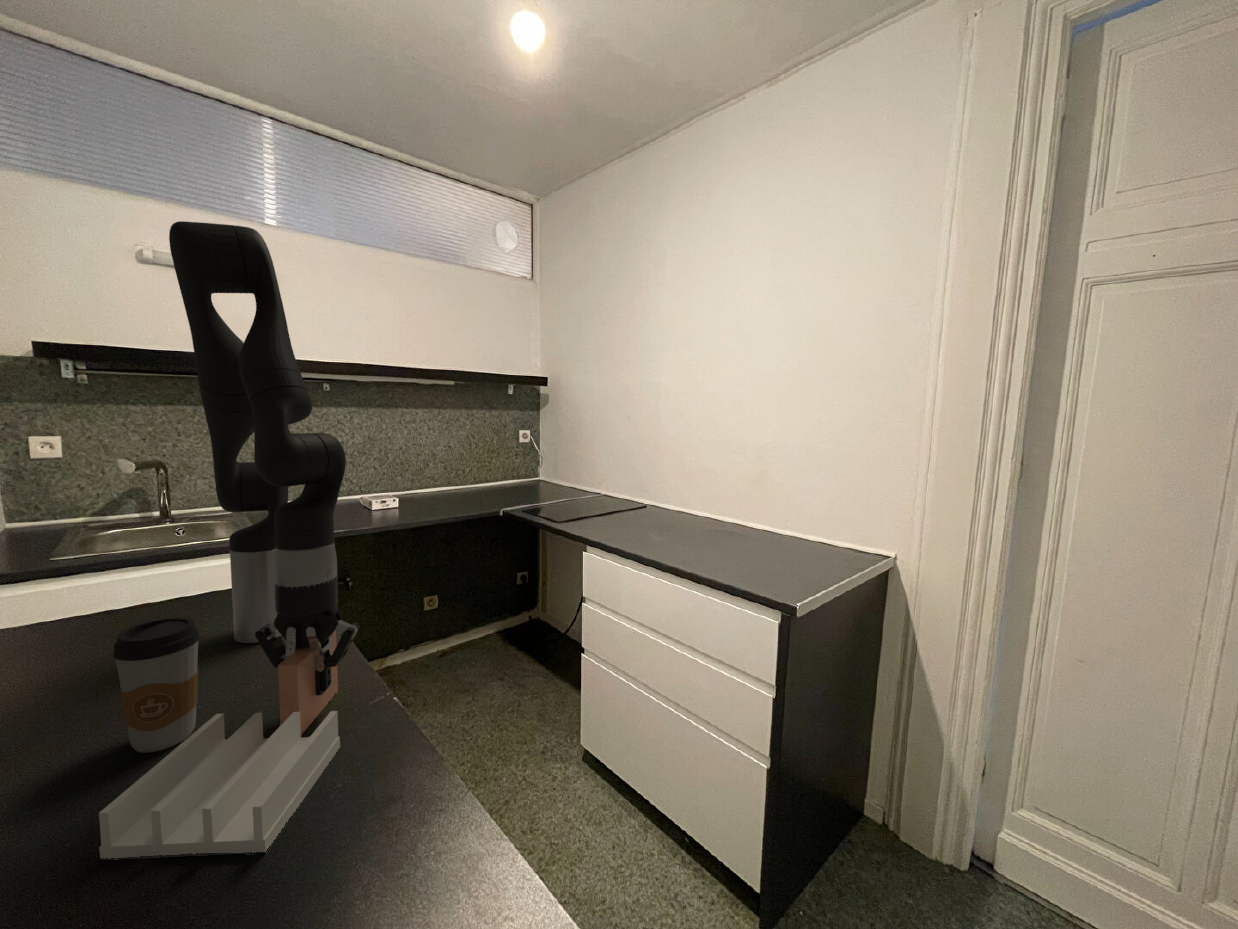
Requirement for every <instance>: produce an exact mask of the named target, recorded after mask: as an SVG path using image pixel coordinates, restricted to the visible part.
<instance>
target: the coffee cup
mask: <svg viewBox="0 0 1238 929" xmlns="http://www.w3.org/2000/svg"><path fill="white" fill-rule="evenodd" d="M199 630H200V629H199V627H198V626H197V625H196V624H195V621H194V619H193V618H189V617H185V616H183V617H182V616H176V617H175V616H174V617H165V618H157V619H153V620H149V621H144V622H142V623H139V624H135V625H132V626H130V627H128V628H126V629H123V630H122V631H120V632H119V634H117V639H116V642H115V643H114V645H113V653H112V656H113V657H112V658H114V659H115V662H116V667H117V668H116V669H117V672H118V674H117V675H118V679H119V685H120V688H119V690H120V696H121V697H120V698H121V702H122V708H123V714H124V720H125V723H126V725H127V726H126V727H127V730H128V732H127V733H128V737H129V738H128V739H129V742H130V743H129V745H130V746H131V748H133V749H134V750H135V751H136V752H137V753H154V752H158V751H162V750H165V749H169V748H171V747H174V746H177V745H178V744H181V743H183V742H184V741H185V740H186V739H187V738H189V737H190V736H191V735H192V734H193V733H194V729H195V727H196V726H197V725H196V722H197V703H198V689H199V688H198V687H199V668H198V661H199V659H198V657H199V655H198V652H199V641H200V638H201V635H200V633H199V632H200V631H199Z"/></svg>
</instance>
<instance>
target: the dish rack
mask: <svg viewBox="0 0 1238 929" xmlns="http://www.w3.org/2000/svg"><path fill="white" fill-rule="evenodd" d="M338 712H339V711H338V710H331V711H329V713H328V714H327V715H326V717H325V718H324V719H323V720H322V721H321V723H320V724H319V725H318V727H317V728H316V729H315V730H314V731H313V733H312V734H311V735H310V736H308V737H307V736H306V737H302V735H301V724H300V712H293V713H292V714H291V715H290V716H289V717H288V718H287V719H286V720H285V721H284V723H283V724H282V725H281V726H280V725H279V727H278V728H277V729H276V730H275V731H274V732H273V733H272V734H271V735H270V736H269V738H264V726H263V712H255V713H253V714H252V715H251V716H250V718H248V719H247V720H246V721H245V722H244V723H243V724H242V725H241V726H240V727H239V728H238V729H236V731H234V733H232V734H231V735H230V736H229V737H228V738H227V739H226V737H225V736H226V735H225V731H226V730H225V718H224V716H225V714H224V713H216V714H214V715H213V716H212V717H211V718H210V719H209V720H207V721H206V722H205V723H204V724H203V725H202V726H200V727H199V728H198V729H197V730H196V731H194V732H192V733H191V735H190V736H189V737H188V738H186V739H185V740H183V741H182V742H181V743H179V745H178V746H177V747H175V748H174V749H173V750H172V751H171V752H169V754H167V755H166V756H165V757H163V759H161V760H160V761H158V763H156V764H155V765H154V766H153V767H152V768H150V769H149V770H148V771H147V772H146V773H144V774H143V775H141V777H140V778H138V779H137V780H136V781H135V782H134V783H132V785H130V786H129V787H128V788H126V790H124V791H123V792H122V793H121V794H119V796H117V797H115V799H113V801H112V802H110V803H109V804H108V805H106V806H105V807H104V808H103V809H101V811H99V812H98V821H99V830H100V831H99V832H100V845H99V848H98V849H99V859H100V858H102V859H103V858H104V859H105V858H108V859H109V858H110V859H111V858H123V857H124V858H125V857H126V858H127V857H140V856H154V855H155V856H156V855H157V856H158V855H162V856H163V855H164V856H165V855H178V854H179V855H180V854H189V853H190V854H191V853H192V854H196V853H199V854H200V853H202V854H203V853H246V852H247V853H248V852H249V853H250V852H252V853H254V852H255V853H256V852H266V851H267V849H268V848H269V846H271V847H272V845H273V844H274V842H275V841H276V840H275V839H277V838H278V837H279V835H280V834H281V833H282V831H283V830H282V828H283V829H284V828H285V827H286V825H287V824H286V822H287V823H288V822H289V821H290V820H289V818H290V817H291V816H292V817H293V816H294V814H295V812H296V811H297V810H298V808H299V807H300V805H301V804H302V803H303V801H304V800H305V798H306V797H307V795H308V794H309V792H310V791H311V790H312V788H313V787H314V786H315V784H316V782H317V781H318V780H319V778H320V777H321V776H322V774H323V773H324V771H325V770H324V769H326V768H327V767H328V765H329V764H330V763H329V762H331V761H332V760H333V758H334V757H335V755H336V754H337V753H338V751H339V750H340V748H341V736H339V718H338V716H339V713H338ZM338 749H339V750H338ZM336 752H337V753H336ZM300 803H301V804H300ZM296 809H297V810H296ZM293 813H294V814H293ZM292 817H291V818H292ZM291 818H290V819H291ZM288 820H289V821H288ZM285 824H286V825H285ZM284 826H285V827H284ZM281 830H282V831H281ZM279 833H280V834H279ZM278 834H279V835H278ZM277 836H278V837H277ZM276 837H277V838H276ZM274 840H275V841H274ZM273 841H274V842H273ZM272 843H273V844H272ZM271 844H272V845H271ZM269 849H270V848H269ZM269 849H268V850H269ZM267 852H268V851H267ZM267 852H266V853H267Z"/></svg>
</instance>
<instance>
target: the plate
mask: <svg viewBox="0 0 1238 929" xmlns="http://www.w3.org/2000/svg"><path fill="white" fill-rule="evenodd" d="M331 642H332V645H331V653H332V654H333V652H334V650H335V648H336V647H337V645H338V643H337V642H338V641H337V629H335V631H334V632H333V633H332V635H331ZM277 670H278V672H277V675H278V678H277V679H278V695H279V697H278V699H279V700H278V701H279V721H280V722H279V723H280V725H279V727H280V726H281V725H282V724H283V723H284V721H285V720H286V719H287V718H288V717H289V716H290V715H291V714H292V713H293V712H300V724H301V736H302V735H303V734H304V733H305V731H306V730H307V729H308V728H309V727H310V725H311V724H312V723H313V722H314V721H315V719H316V718H317V717H318V716H319V715H320V713H321V712H322V711H323V710H324V709H325V708H326V706H327V705H328V704H329V703H330V702H331V701H332V699H333V698H334V697H335V696H336V695H335V693H336V694H338V692H339V682H338V680H339V679H338V674H339V673H338V664H337V665H336V666H335V667H331V685H330V686H329V688H328V689H327V690H326V691H325V692H324V693H323V694H322V695H316V688H315V671H316V668H315V662H314V657H313V656H312V652H311V651H310V647H306V646H305V647H301V648H298V649H297V650H296V651H295V652H293V653H292V654H291V655H290V656H288V657H287V658H286V659H285V660H284V661H283V662H281V663H280V664H279V665H278V668H277ZM334 695H335V696H334ZM333 696H334V697H333ZM329 701H330V702H329ZM328 702H329V703H328Z"/></svg>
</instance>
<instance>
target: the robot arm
mask: <svg viewBox="0 0 1238 929" xmlns="http://www.w3.org/2000/svg"><path fill="white" fill-rule="evenodd" d="M168 234H169V235H168V240H169V241H168V242H169V249H170V254H171V259H172V263H173V266H174V271H175V275H176V278H177V282H178V285H179V290H180V294H181V298H182V301H183V305H184V309H185V313H186V318H187V322H188V325H189V328H190V335H191V340H192V347H193V353H194V360H195V368H196V375H197V381H198V387H199V391H200V392H199V393H200V398H201V403H202V406H203V410H204V415H205V419H206V424H207V428H208V432H209V438H210V444H211V451H212V452H211V453H212V463H213V472H214V473H213V474H214V486H215V490H216V491H215V493H216V497H217V501H218V504H219V505H220V507H221V508H222V509H223V510H224V511H225V512H229V513H244V512H245V513H246V512H247V513H248V512H264V511H267V513H268V514H267V516H266V517H265V518H263V519H262V520H260V521H258V522H257V523H254V524H252V525H249V526H246V527H243V528H241V529H239V530H236V531H234V532H232V533H231V534H230V535H229V541H228V542H229V544H228V545H229V561H230V564H229V565H230V579H231V596H232V617H233V618H232V620H233V638H234V641H236V642H237V643H242V644H257V643H258V644H259V645H260V647H261V648H262V650H263V651H264V653H265V655H266V656H267V658H268V660H269V662H270V663H271V664H272V665H271V666H272V667H273V668H275V669H278V665H279V664H280V663H281V662H283V661H284V660H285V659H286V658H287V657H288V656H290V655H291V654H292V653H293V652H295V651H296V650H297V649H298V648H301V647H305V646H306V647H310V651H311V652H312V656H313V657H314V662H315V668H316V671H315V688H316V695H322V694H323V693H324V692H325V691H326V690H327V689H328V688H329V686H330V685H331V667H335V666H336V665H337V666H338V664H340V663H341V661H342V660H343V659H344V658H345V657H346V654H347V653H348V651H349V649H350V647H351V646H352V643H353V641H354V639H355V637H356V635H357V633H358V631H359V630H360V626H361V625H360V623H358V622H353V623H352V624H351V623H348V622H346V621H344V620H342V615H341V614H340V612H339V610H338V606H339V592H338V590H339V588H338V560H337V559H338V558H337V557H338V556H337V551H336V546H335V545H336V544H335V523H334V514H335V510H336V505H337V503H338V499H339V495H340V491H341V486H342V483H343V480H344V476H345V471H346V467H347V466H346V465H347V460H346V453H345V450H344V447H343V445H342V444H341V442H340V440H338V438H336V437H335V436H334V435H332V434H329V433H324V432H313V433H312V432H311V433H310V432H307V433H302V432H301V433H291V431H290V429H289V425H293V424H296V423H299V422H302V421H304V420H305V419H307V418H308V417H309V416H310V415H311V414H312V411H313V403H312V400H311V397H310V394H309V391H308V389H307V386H306V383H305V381H304V378H303V376H302V373H301V371H300V367H299V366H298V363H297V359H296V357H295V353H294V349H293V346H292V342H291V337H290V334H289V332H290V331H289V327H288V322H287V318H286V313H285V308H284V304H283V299H282V295H281V291H280V286H279V283H278V278H277V273H276V270H275V265H274V262H273V259H272V256H271V252H270V250H269V247H268V244H267V243H266V240H265V239H264V238H263V236H262V234H260V232H259V231H257V230H256V229H255V228H252V227H248V226H243V225H234V224H224V223H223V224H222V223H214V222H213V223H212V222H200V221H199V222H197V221H184V220H182V221H175V222H174V223H172V224H171V226H170V229H169V232H168ZM213 294H252V295H253V296H254V300H255V313H254V314H255V315H254V318H253V319H252V320H253V321H252V323H251V326H250V328H249V331H248V332H247V335H246V337H245V339H244V341H243V340H242V339H241V338H239V336H238V335H237V334H236V333H235V332H234V331H233V330H232V329H231V328H230V327H229V326H228V325H227V323H226V322H225V321H224V319H223V318H222V317H221V315H220V314H219V313H218V311H217V310H216V308H215V306H214V303H213V301H212V295H213ZM253 434H254V437H253V439H254V446H253V447H254V454H253V455H254V457H253V458H254V461H251V462H250V461H247V462H240V461H238V456H239V454H240V451H241V450H242V448H243V446H244V445H245V444H246V442H247V441H248V440H249V438H250V437H251V436H252V435H253ZM302 485H304V486H303V489H302V491H301V494H300V495H299V496H298V497H296V498H295V499H292V500H290V501H289V487H294V486H295V487H296V486H302ZM335 630H336V631H337V639H338V640H339V641H338V643H337V647H336V648H335V650H334V652H333V654H332V653H331V645H332V642H331V635H332V633H333V632H334V631H335ZM282 637H283V639H284V640H285V641H286V644H285V642H284V640H283V639H282Z"/></svg>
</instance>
